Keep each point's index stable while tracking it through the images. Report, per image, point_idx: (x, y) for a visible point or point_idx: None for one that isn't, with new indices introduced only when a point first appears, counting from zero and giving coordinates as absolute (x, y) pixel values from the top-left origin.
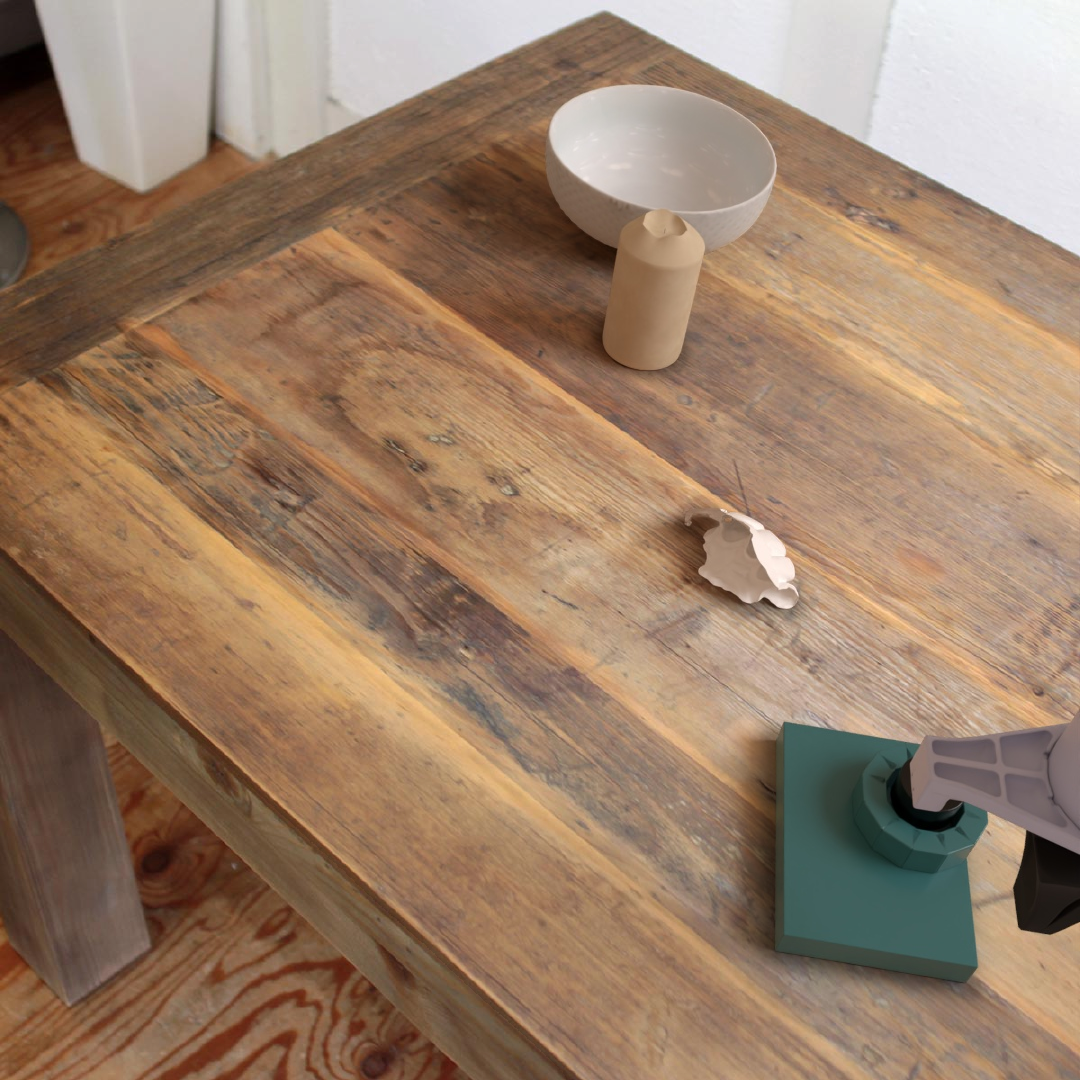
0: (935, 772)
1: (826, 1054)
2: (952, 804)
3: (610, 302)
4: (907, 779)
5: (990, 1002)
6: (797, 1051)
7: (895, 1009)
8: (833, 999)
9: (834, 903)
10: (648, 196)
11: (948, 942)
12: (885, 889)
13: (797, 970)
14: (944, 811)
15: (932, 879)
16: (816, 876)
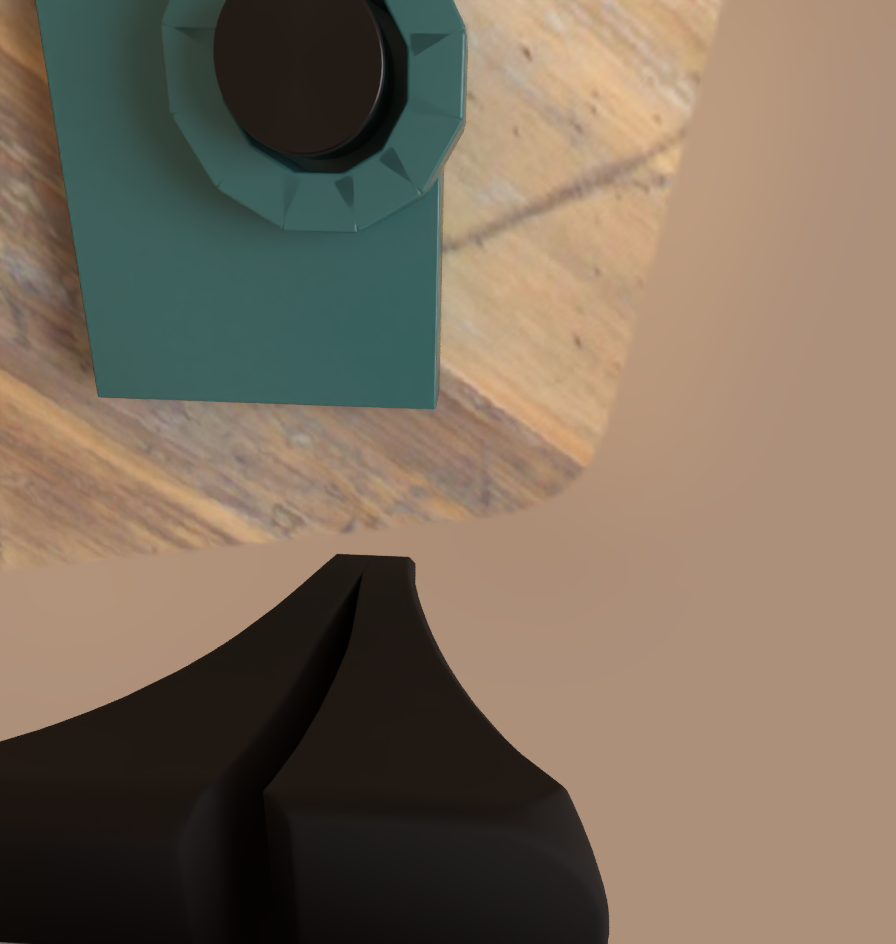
0: None
1: (222, 524)
2: (343, 127)
3: None
4: (230, 65)
5: (476, 417)
6: (181, 525)
7: (322, 448)
8: (226, 445)
9: (178, 324)
10: None
11: (386, 370)
12: (271, 279)
13: (167, 407)
14: (322, 153)
15: (363, 242)
16: (140, 271)
